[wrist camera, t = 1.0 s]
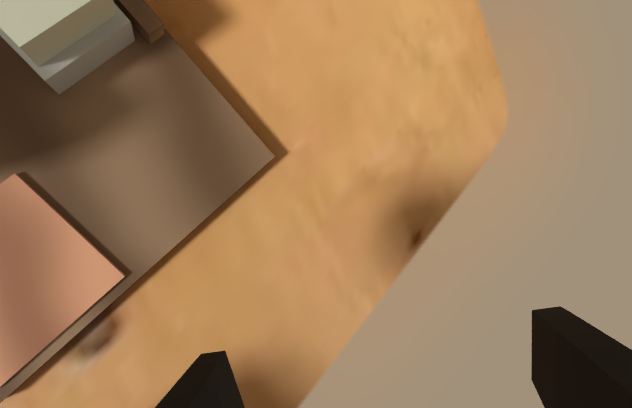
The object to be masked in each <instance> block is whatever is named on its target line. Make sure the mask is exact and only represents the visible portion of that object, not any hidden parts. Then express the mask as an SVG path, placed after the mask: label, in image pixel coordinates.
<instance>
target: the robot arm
mask: <svg viewBox="0 0 632 408" xmlns="http://www.w3.org/2000/svg"><path fill="white" fill-rule="evenodd" d="M532 381H533V384H534V386H535V388H536V390H537V392H538V394H539V396H540V399H541V401H542V403H543V405H544V407H545V408H632V350H631V349H629V348H627V347H626V346H624V345H623V344H621V343H619V342H618V341H616V340H615V339H613V338H611V337H610V336H608V335H606V334H604V333H603V332H602V331H600V330H598V329H597V328H595V327H593V326H592V325H590V324H589V323H587V322H585V321H584V320H582V319H581V318H579V317H577V316H575V315H574V314H572V313H571V312H569V311H567V310H565V309H564V308H562V307H553V308H545V309H538V310H532ZM155 408H245V407H244V404H243V401H242V398H241V395H240V393H239V390H238V387H237V384H236V381H235V378H234V375H233V372H232V369H231V367H230V364H229V361H228V358H227V355H226V352H225V351H220V352H212V353H205V354H201V355H200V356H199V357H198V358H197V359H196V360H195V361H194V363H193V364H192V365H191V366H190V367H189V368H188V370H187V371H186V372H185V373H184V374H183V375H182V377H181V378H180V379H179V380H178V381H177V383H176V384H175V385H174V386H173V387H172V389H171V390H170V391H169V392H168V393H167V394H166V396H165V397H164V398H163V399H162V400H161V401H160V403H159V404H158V405H157V406H156V407H155Z"/></svg>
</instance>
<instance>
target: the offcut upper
mask: <svg viewBox="0 0 632 408" xmlns="http://www.w3.org/2000/svg"><path fill="white" fill-rule="evenodd" d="M116 14H117V11H116V8H115V5H114V1H113V0H0V28H1V29H2V30H3V31H4V32H5V33H6V34H7V35H8V36H9V37H10V38H11V39H12V40H13V41H14V42H15V43H16V44H17V45H18V46H19V47H20V48H21V49H22V50H23V51H24V52H25V53H26V54H27V55H28V56H29V57H30V59H31V60H32V61H33V62H34V63H35V64H36V65H37V66H38V67H40V66H41V65H43V64H44V63H46V62H47V61H48V60H50V59H51V58H53V57H54V56H56V55H57V54H59V53H60V52H62V51H63V50H65V49H66V48H68V47H69V46H70V45H72V44H73V43H75V42H76V41H78V40H79V39H81V38H82V37H84V36H85V35H87V34H88V33H90V32H91V31H92V30H94V29H95V28H97V27H98V26H100V25H101V24H103V23H104V22H106V21H107V20H109V19H110V18H112V17H113V16H115V15H116Z"/></svg>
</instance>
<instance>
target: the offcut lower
mask: <svg viewBox="0 0 632 408" xmlns="http://www.w3.org/2000/svg"><path fill="white" fill-rule="evenodd" d="M114 5H115V8H116V11H117V14H116V15H115V16H113V17H112V18H110V19H109V20H107V21H106V22H104V23H103V24H101V25H100V26H98V27H97V28H95V29H94V30H92V31H91V32H90V33H88V34H87V35H85V36H84V37H82V38H81V39H79V40H78V41H76V42H75V43H73V44H72V45H70V46H69V47H68V48H66V49H65V50H63V51H62V52H60V53H59V54H57V55H56V56H54V57H53V58H51V59H50V60H48V61H47V62H46V63H44V64H43V65H41V66H40V67H38V66H37V65H36V64H35V63H34V62H33V61H32V60H31V59H30V57H29V56H28V55H27V54H26V53H25V52H24V51H23V50H22V49H21V48H20V47H19V46H18V45H17V44H16V43H15V42H14V41H13V40H12V39H11V38H10V37H9V36H8V35H7V34H6V33H5V32H4V31H3V30H2V29H1V28H0V36H1V37H2V38H3V39H4V40H5V41H6V42H7V43H8V44H9V45H10V46H11V47H12V48H13V49H14V50H15V51H16V52H17V53H18V54H19V55H20V56H21V57H22V58H23V59H24V60H25V61H26V62H27V63H28V64H29V65H30V66H31V67H32V68H33V69H34V70H35V71H36V72H37V74H38V75H39V76H40V77H41V78H42V79H43V80H44V81H45V82H46V83H47V84H49V85H50V86H51V87H52V88H53V89H54V90H55V91H56V92H57V93H58V94H61V93H62V92H64V91H65V90H66V89H68V88H69V87H71V86H72V85H73V84H75V83H76V82H78V81H79V80H80V79H82V78H83V77H85V76H86V75H88V74H89V73H90V72H92V71H93V70H95V69H96V68H97V67H99V66H100V65H102V64H103V63H104V62H106V61H107V60H109V59H110V58H111V57H113V56H114V55H116V54H117V53H118V52H120V51H121V50H123V49H124V48H125V47H127V46H128V45H130V44H131V43H132V42H134V41H135V38H134V34H133V30H132V25H131V21H130V20H129V19H128V18H127V17H126V16H125V15H124V13H123V12H122V11H121V10H120V9H119V8H118V7H117V5H116V4H115V3H114Z"/></svg>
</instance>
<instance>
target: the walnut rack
mask: <svg viewBox="0 0 632 408" xmlns="http://www.w3.org/2000/svg"><path fill="white" fill-rule="evenodd" d="M113 1H114V3H115V4H116V5H117V7H118V8H119V9H120V10H121V11H122V12H123V13H124V15H125V16H126V17H127V18H128V19H129V20H130V21H131V25H132V30H133V34H134V38H135V41H134V42H132V43H131V44H130V45H128V46H127V47H125V48H124V49H123V50H121V51H120V52H118V53H117V54H116V55H114V56H113V57H111V58H110V59H109V60H107V61H106V62H104V63H103V64H102V65H100V66H99V67H97V68H96V69H95V70H93V71H92V72H90V73H89V74H88V75H86V76H85V77H83V78H82V79H80V80H79V81H78V82H76V83H75V84H73V85H72V86H71V87H69V88H68V89H66V90H65V91H64V92H62V93H61V94H58V93H57V92H56V91H55V90H54V89H53V88H52V87H51V86H50V85H49V84H47V83H46V82H45V81H44V80H43V79H42V78H41V77H40V76H39V75H38V74H37V72H36V71H35V70H34V69H33V68H32V67H31V66H30V65H29V64H28V63H27V62H26V61H25V60H24V59H23V58H22V57H21V56H20V55H19V54H18V53H17V52H16V51H15V50H14V49H13V48H12V47H11V46H10V45H9V44H8V43H7V42H6V41H5V40H4V39H3V38H2V37H1V36H0V403H1V402H2V401H3V400H4V399H5V398H6V397H7V396H9V395H10V394H11V393H12V392H13V391H14V390H15V389H16V388H17V387H19V386H20V385H21V384H22V383H23V382H24V381H25V380H26V379H27V378H29V377H30V376H31V375H32V374H33V373H34V372H35V371H36V370H38V369H39V368H40V367H41V366H42V365H43V364H44V363H45V362H46V361H48V360H49V359H50V358H51V357H52V356H53V355H54V354H55V353H56V352H58V351H59V350H60V349H61V348H62V347H63V346H64V345H65V344H66V343H68V342H69V341H70V340H71V339H72V338H73V337H74V336H75V335H77V334H78V333H79V332H80V331H81V330H82V329H83V328H84V327H85V326H87V325H88V324H89V323H90V322H91V321H92V320H93V319H94V318H95V317H97V316H98V315H99V314H100V313H101V312H102V311H103V310H104V309H105V308H107V307H108V306H109V305H110V304H111V303H112V302H113V301H114V300H116V299H117V298H118V297H119V296H120V295H121V294H122V293H123V292H124V291H126V290H127V289H128V288H129V287H130V286H131V285H132V284H133V283H134V282H136V281H137V280H138V279H139V278H140V277H141V276H142V275H143V274H145V273H146V272H147V271H148V270H149V269H150V268H151V267H152V266H153V265H155V264H156V263H157V262H158V261H159V260H160V259H161V258H162V257H163V256H165V255H166V254H167V253H168V252H169V251H170V250H171V249H172V248H173V247H175V246H176V245H177V244H178V243H179V242H180V241H181V240H182V239H184V238H185V237H186V236H187V235H188V234H189V233H190V232H191V231H192V230H194V229H195V228H196V227H197V226H198V225H199V224H200V223H201V222H202V221H204V220H205V219H206V218H207V217H208V216H209V215H210V214H211V213H212V212H214V211H215V210H216V209H217V208H218V207H219V206H220V205H221V204H223V203H224V202H225V201H226V200H227V199H228V198H229V197H230V196H231V195H233V194H234V193H235V192H236V191H237V190H238V189H239V188H240V187H241V186H243V185H244V184H245V183H246V182H247V181H248V180H249V179H250V178H251V177H253V176H254V175H255V174H256V173H257V172H258V171H259V170H260V169H262V168H263V167H264V166H265V165H266V164H267V163H268V162H269V161H270V160H272V159H273V158H274V157H275V156H274V155H273V154H272V153H271V151H270V150H269V149H268V148H267V147H266V146H265V144H264V143H263V142H262V141H261V140H260V139H259V137H258V136H257V135H256V134H255V133H254V132H253V131H252V129H251V128H250V127H249V126H248V125H247V124H246V122H245V121H244V120H243V119H242V118H241V117H240V115H239V114H238V113H237V112H236V111H235V110H234V109H233V107H232V106H231V105H230V104H229V103H228V102H227V100H226V99H225V98H224V97H223V96H222V95H221V93H220V92H219V91H218V90H217V89H216V88H215V87H214V85H213V84H212V83H211V82H210V81H209V80H208V78H207V77H206V76H205V75H204V74H203V73H202V71H201V70H200V69H199V68H198V67H197V66H196V64H195V63H194V62H193V61H192V60H191V59H190V58H189V56H188V55H187V54H186V53H185V52H184V51H183V49H182V48H181V47H180V46H179V45H178V44H177V42H176V41H175V40H174V39H173V38H172V37H171V36H170V34H169V33H168V32H167V31H166V30H165V29H164V23H163V22H162V21H161V20H160V19H159V18H158V17H157V15H156V14H155V13H154V12H153V11H152V10H151V8H150V7H149V6H148V5H147V4H146V3H145V1H144V0H113Z"/></svg>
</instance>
